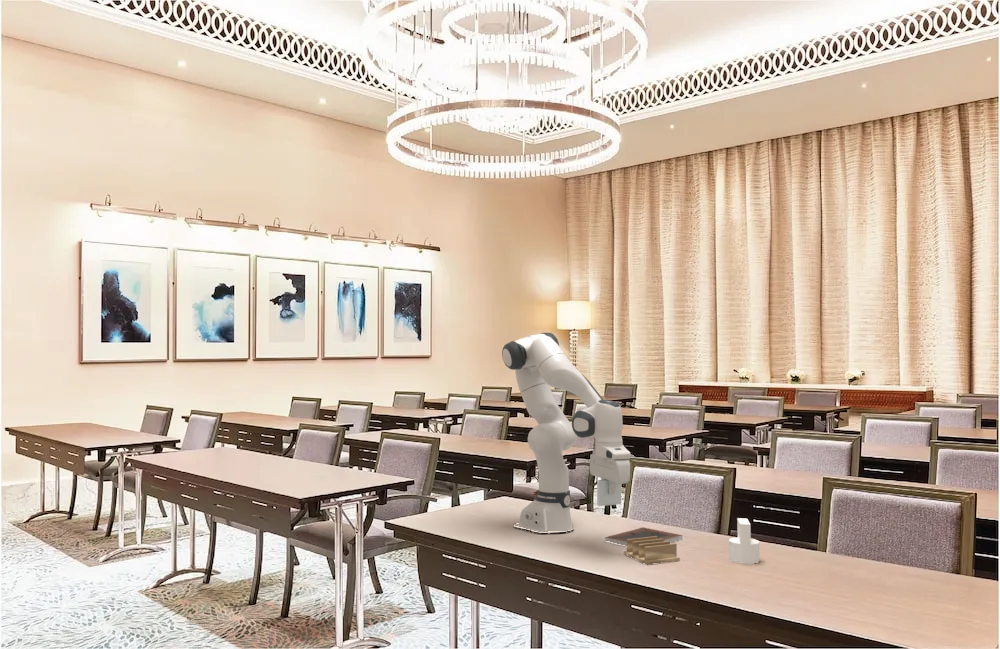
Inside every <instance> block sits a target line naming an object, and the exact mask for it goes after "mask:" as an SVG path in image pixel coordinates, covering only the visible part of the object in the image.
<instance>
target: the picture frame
mask: <svg viewBox="0 0 1000 649" xmlns="http://www.w3.org/2000/svg"><path fill="white" fill-rule="evenodd" d="M652 536H657V537H658V539H664V541H670V543H671V544H674V543H676V542H675V541H677V542H680V541H679V540H681V541H683V534H678V533H673V532H669V531H664V530H658V529H654V528H648V527H639V528H635V529H633V530H632V529H631V530H628V531H624V532H621V533H616V534H612V535H609V536H605V537H604V542H605V541H610V542H613V543H617V544H621V545H625V546H627V539H633V538H643V537H652ZM673 542H674V543H673Z"/></svg>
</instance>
